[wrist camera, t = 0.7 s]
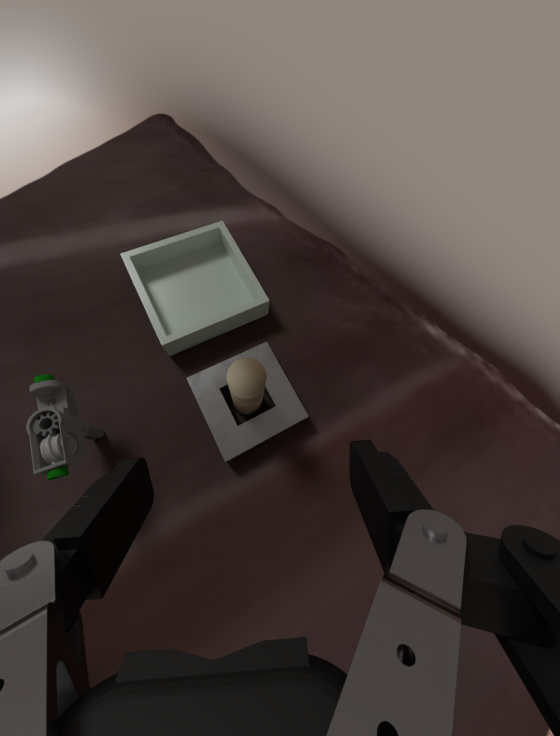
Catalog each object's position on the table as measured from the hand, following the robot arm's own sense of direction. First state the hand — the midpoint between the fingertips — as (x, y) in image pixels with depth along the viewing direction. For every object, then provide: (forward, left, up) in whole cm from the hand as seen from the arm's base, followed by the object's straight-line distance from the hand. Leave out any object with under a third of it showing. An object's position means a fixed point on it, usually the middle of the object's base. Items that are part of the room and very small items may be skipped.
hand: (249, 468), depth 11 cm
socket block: (+3, +8, -27) cm, 29 cm away
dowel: (+3, +8, -27) cm, 29 cm away
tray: (+4, +27, -27) cm, 38 cm away
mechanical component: (-16, +13, -27) cm, 34 cm away
